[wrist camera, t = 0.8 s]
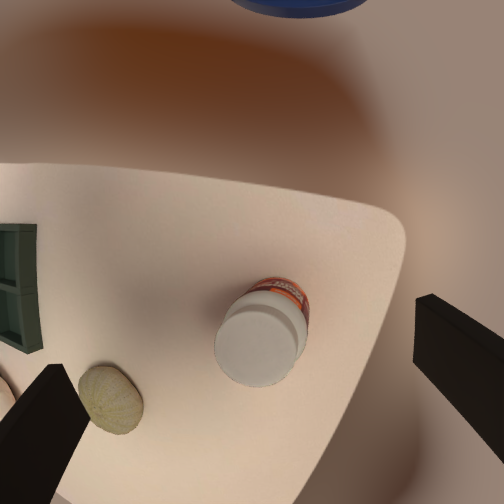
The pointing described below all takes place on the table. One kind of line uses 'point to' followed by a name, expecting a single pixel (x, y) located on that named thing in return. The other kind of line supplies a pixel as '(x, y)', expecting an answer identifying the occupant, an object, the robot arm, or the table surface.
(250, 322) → the pill bottle
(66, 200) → the table surface
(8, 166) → the table surface
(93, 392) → the sea urchin shell
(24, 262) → the grid
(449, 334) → the robot arm
